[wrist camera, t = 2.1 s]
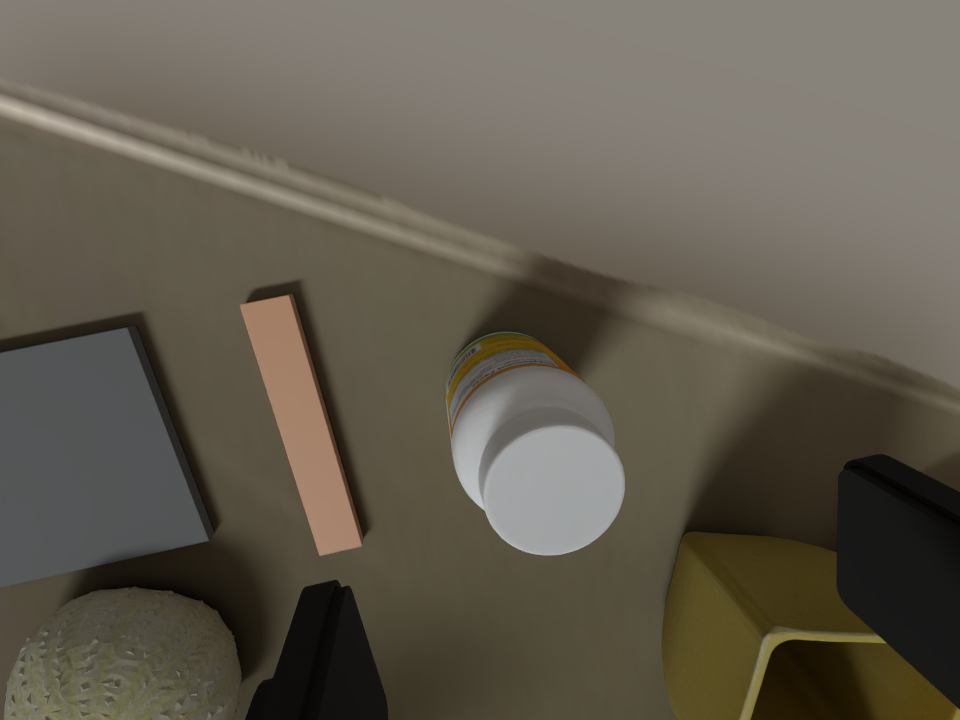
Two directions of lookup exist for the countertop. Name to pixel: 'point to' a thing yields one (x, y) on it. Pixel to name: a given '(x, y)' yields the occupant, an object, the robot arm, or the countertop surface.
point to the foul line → (303, 421)
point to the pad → (89, 459)
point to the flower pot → (778, 640)
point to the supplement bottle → (532, 444)
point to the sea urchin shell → (127, 661)
